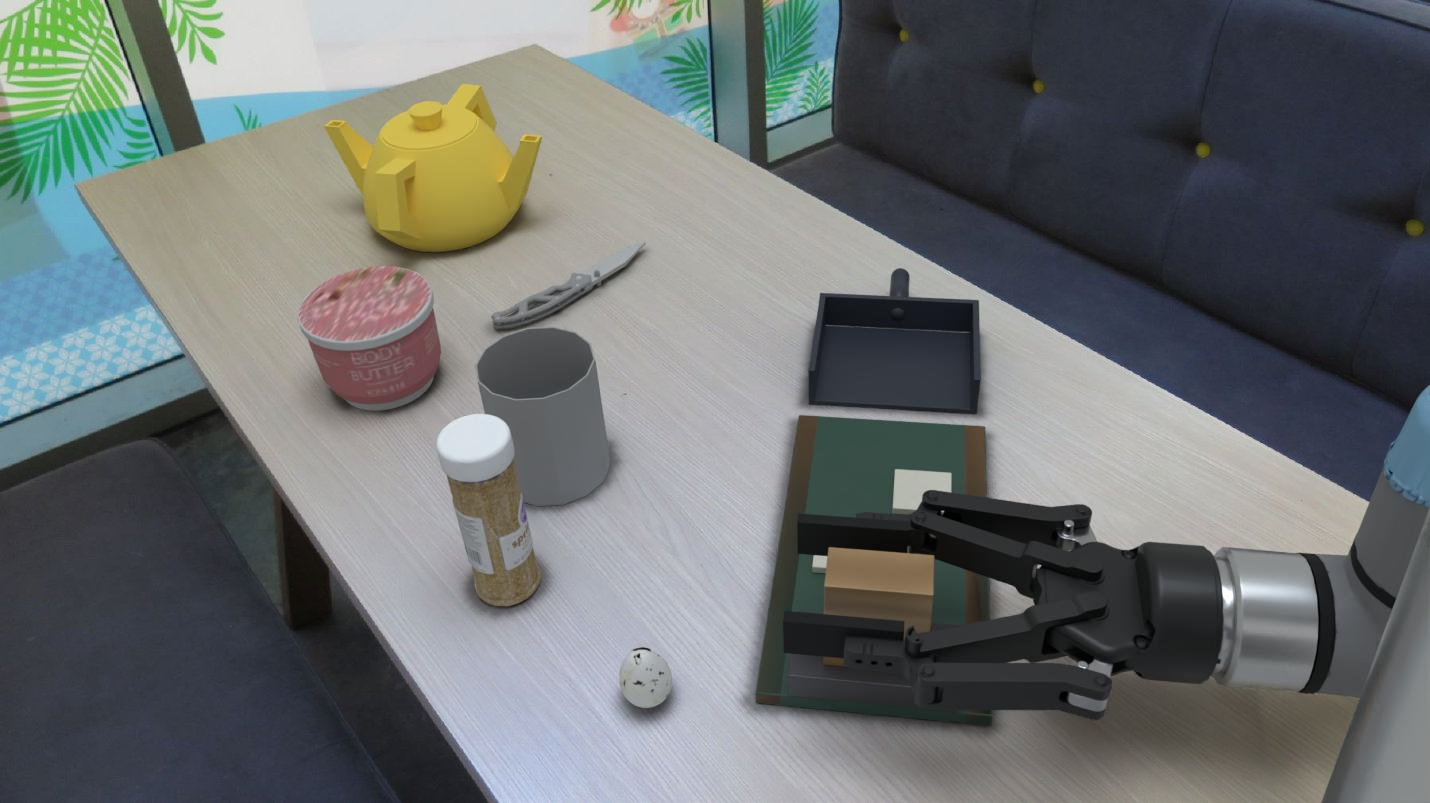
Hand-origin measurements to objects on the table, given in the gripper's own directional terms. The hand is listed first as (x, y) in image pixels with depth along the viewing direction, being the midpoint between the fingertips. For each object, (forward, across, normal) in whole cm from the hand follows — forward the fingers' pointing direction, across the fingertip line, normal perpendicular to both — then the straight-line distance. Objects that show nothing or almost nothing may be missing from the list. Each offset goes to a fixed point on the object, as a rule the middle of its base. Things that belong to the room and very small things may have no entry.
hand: (791, 580), depth 69 cm
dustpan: (-5, +34, -8) cm, 36 cm away
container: (+36, +26, -9) cm, 45 cm away
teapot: (+40, +52, -9) cm, 66 cm away
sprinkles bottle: (+20, +5, -9) cm, 22 cm away
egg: (+9, -3, -9) cm, 13 cm away
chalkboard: (-5, +10, -8) cm, 14 cm away
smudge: (-7, +16, -8) cm, 19 cm away
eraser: (-5, 0, -8) cm, 9 cm away
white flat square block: (-2, +10, -8) cm, 12 cm away
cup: (+20, +17, -9) cm, 27 cm away
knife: (+24, +40, -9) cm, 47 cm away
